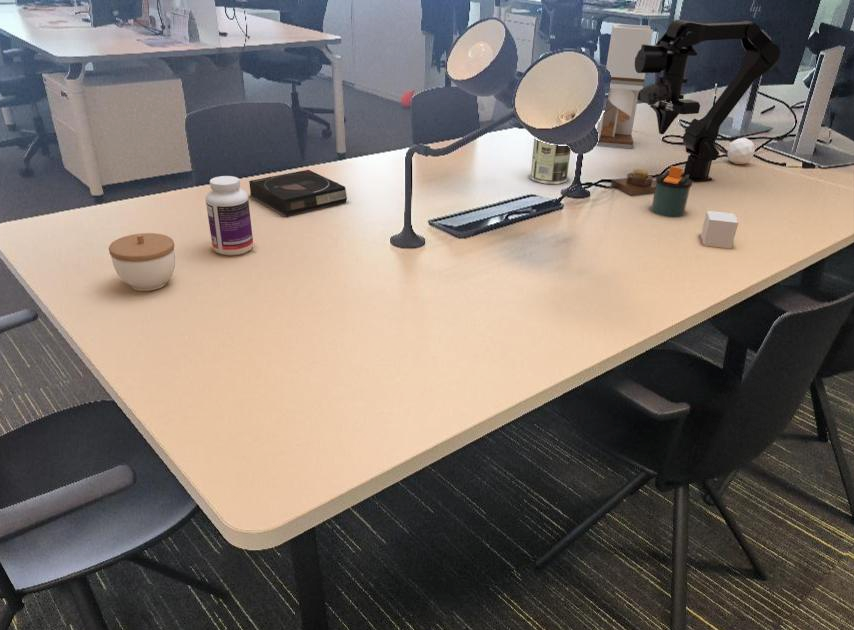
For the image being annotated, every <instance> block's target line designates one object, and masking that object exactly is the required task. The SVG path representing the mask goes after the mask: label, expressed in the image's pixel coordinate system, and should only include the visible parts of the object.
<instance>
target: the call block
mask: <svg viewBox="0 0 854 630" xmlns="http://www.w3.org/2000/svg"><path fill="white" fill-rule="evenodd" d="M633 173H634V171H633V172H629V173H627V174H626V177H623V178H614V179H611V183H610V186H611V187H613V188H615V189H617V190H619V191H621V192H623V193H625V194H627V195H629V196H631V197H633V196H642V195H649V194H650V195H651V194H654V192H655V188H656V183H657V182H656V180H654V179H653V178H654V177H653V176H652V175H650V174H647V178H644V179H643V178H636V177H633Z"/></svg>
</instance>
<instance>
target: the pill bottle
mask: <svg viewBox="0 0 854 630" xmlns="http://www.w3.org/2000/svg"><path fill="white" fill-rule="evenodd" d="M240 182H241V181H240V179H239V178H238V177H237V176H234V175H233V176H232V175H221V176H215V177H213V178H211V179H210V180H209V185H210V186H209V187H210V189H211V190H210V191H208V192H207V194H206V195H205V204H206V211H207V218H208V225H209V233H210V240H211V247H212V249H213V251H214V252H216V253H218V254H219V255H224V256H239V255H242V254H245V253H248V252H249V251H250V250H252V248H253V246H254V238H253V229H252V228H253V227H252V219H251V212H250V211H251V210H250V202H249V196H248V193H247V192H246V191H245V190H244V189H243V188H241V183H240Z"/></svg>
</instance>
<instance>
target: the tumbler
mask: <svg viewBox="0 0 854 630" xmlns="http://www.w3.org/2000/svg"><path fill="white" fill-rule="evenodd" d="M669 172H670V170H667V171H666V172H665V173H664V174H659V175H657V176H656V177H655V181H656V182H657V183H656V188H655V192H654V193H653V198H652V202H651V207H650V210H651V211H652V213H654V214H656V215H659V216H663V217H668V218H669V217H670V218H671V217H672V218H675V217H682V216H684V215H685V211H686V208H687V203H688V198H689V194H690V189H691V187H692V186H693V181H692V180H690V179H688V178H689V174H687V175H686V176H685V177H683V176H681V178H682V180H681V181H680V182H679V183H678V184H673V183H668V182H663V180H664V179H665V178H666V177H667V176H669Z"/></svg>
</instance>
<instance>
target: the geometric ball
mask: <svg viewBox="0 0 854 630" xmlns="http://www.w3.org/2000/svg"><path fill="white" fill-rule="evenodd" d="M755 151H756V147H755V145H754V143H753V141H752V140H750V139H748V138H747V137H740V138H737V139H734V140H732V141H731V142H730V144H729V146H728V148H727V153H726V155H727V157H728V159H729V161H730V162H731V163H733V164H735V165H744V164H747V163H749V162H751V160H752V158H753V157H754V155H755Z"/></svg>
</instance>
